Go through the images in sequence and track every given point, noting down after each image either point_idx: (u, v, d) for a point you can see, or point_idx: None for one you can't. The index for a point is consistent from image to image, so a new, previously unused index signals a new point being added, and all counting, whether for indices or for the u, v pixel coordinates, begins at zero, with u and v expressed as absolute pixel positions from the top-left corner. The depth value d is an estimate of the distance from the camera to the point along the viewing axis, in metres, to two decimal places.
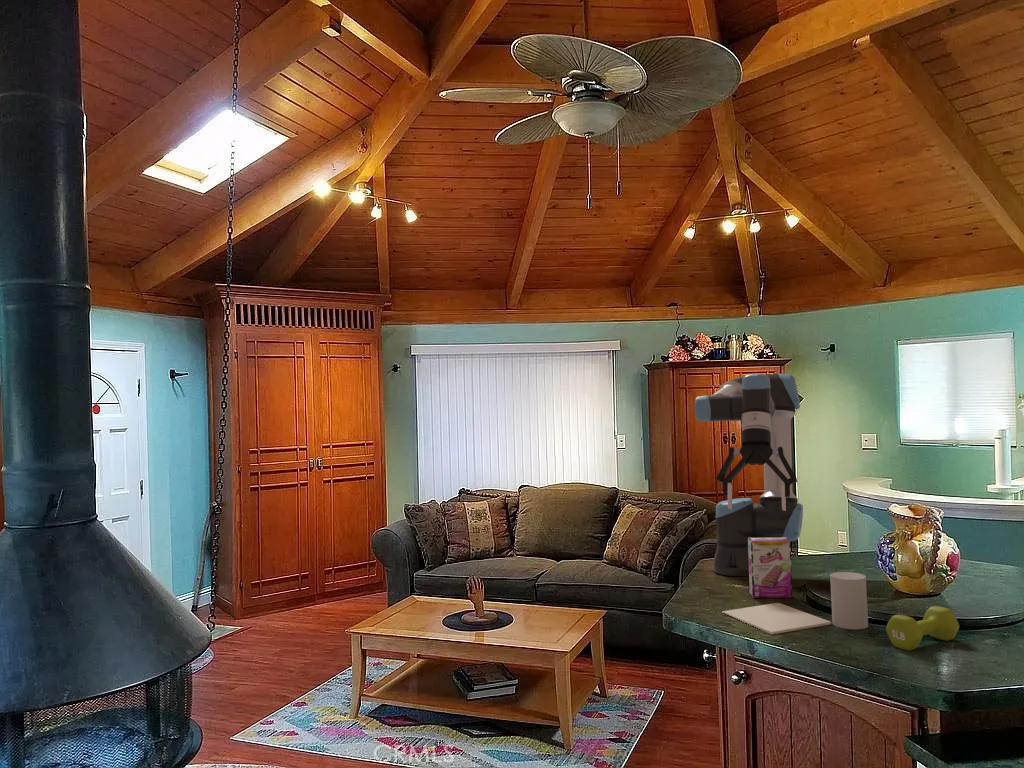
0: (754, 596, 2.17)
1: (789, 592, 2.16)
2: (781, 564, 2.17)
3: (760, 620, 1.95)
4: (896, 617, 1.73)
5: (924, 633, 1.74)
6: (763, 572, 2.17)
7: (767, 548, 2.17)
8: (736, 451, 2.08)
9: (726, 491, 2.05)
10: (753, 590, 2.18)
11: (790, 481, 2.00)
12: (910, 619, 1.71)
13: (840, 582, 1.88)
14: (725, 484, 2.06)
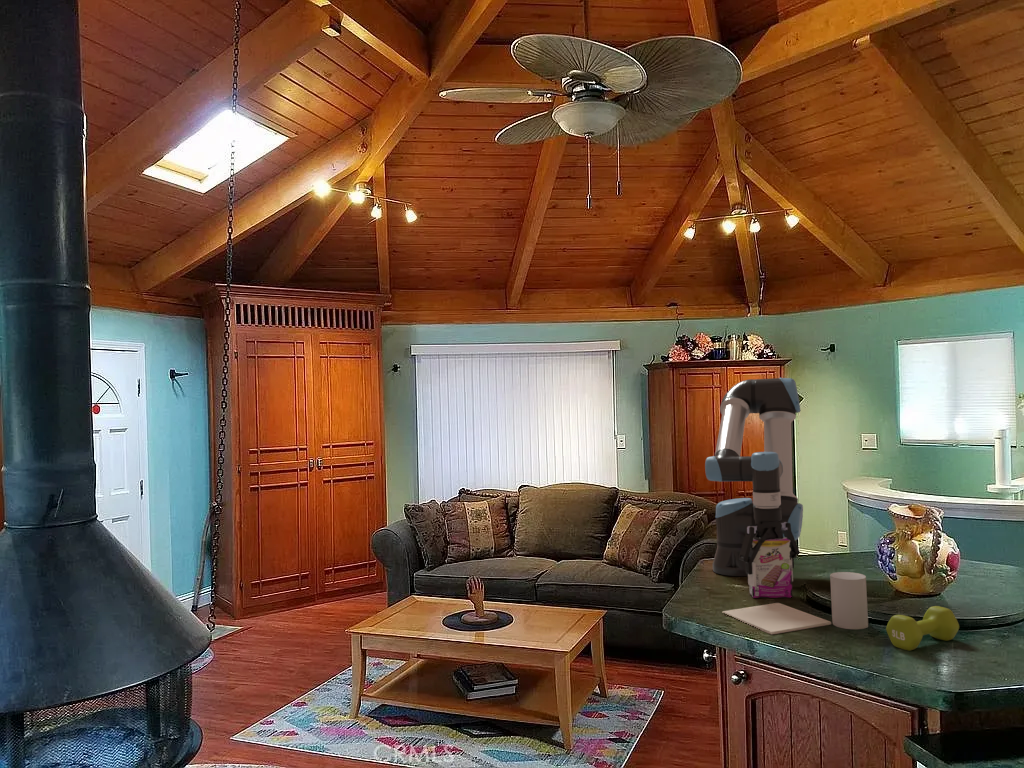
0: (754, 596, 2.17)
1: (789, 592, 2.16)
2: (781, 564, 2.17)
3: (760, 620, 1.95)
4: (896, 617, 1.73)
5: (924, 633, 1.74)
6: (763, 572, 2.17)
7: (767, 548, 2.17)
8: (754, 529, 2.17)
9: (751, 570, 2.16)
10: (753, 590, 2.18)
11: None
12: (910, 619, 1.71)
13: (841, 582, 1.88)
14: (749, 564, 2.16)
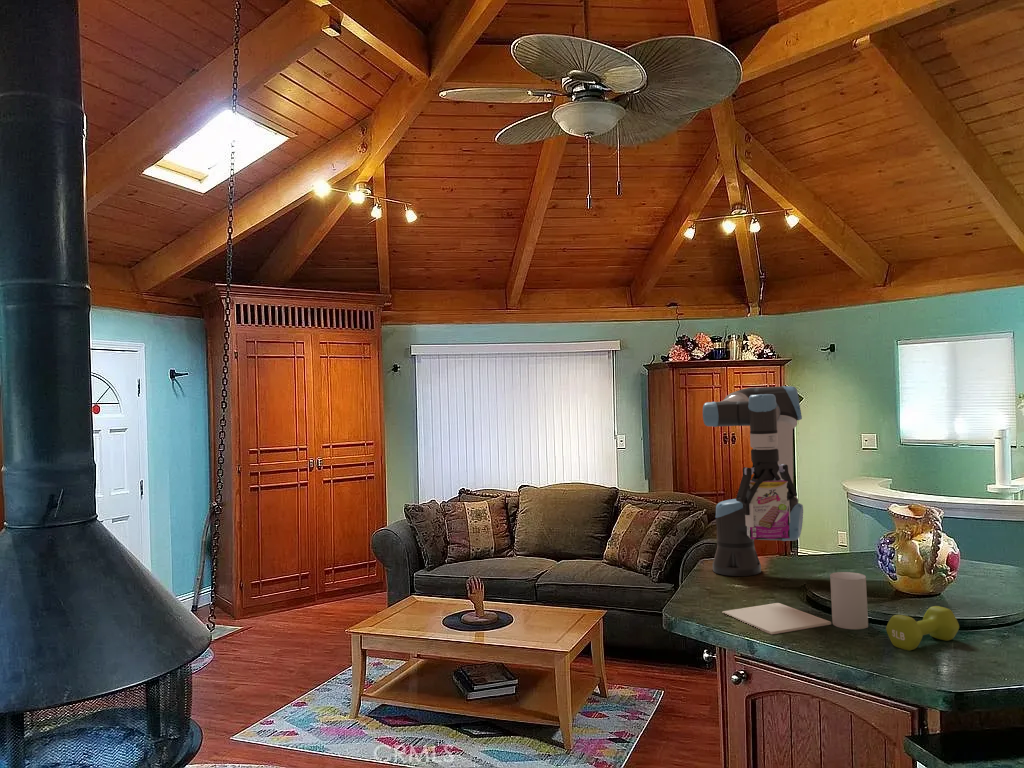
0: (751, 537, 2.18)
1: (787, 533, 2.17)
2: (778, 505, 2.17)
3: (760, 620, 1.95)
4: (896, 617, 1.73)
5: (924, 633, 1.74)
6: (760, 513, 2.17)
7: (764, 489, 2.17)
8: None
9: (748, 511, 2.17)
10: (750, 531, 2.18)
11: None
12: (910, 619, 1.71)
13: (841, 582, 1.88)
14: (747, 505, 2.17)
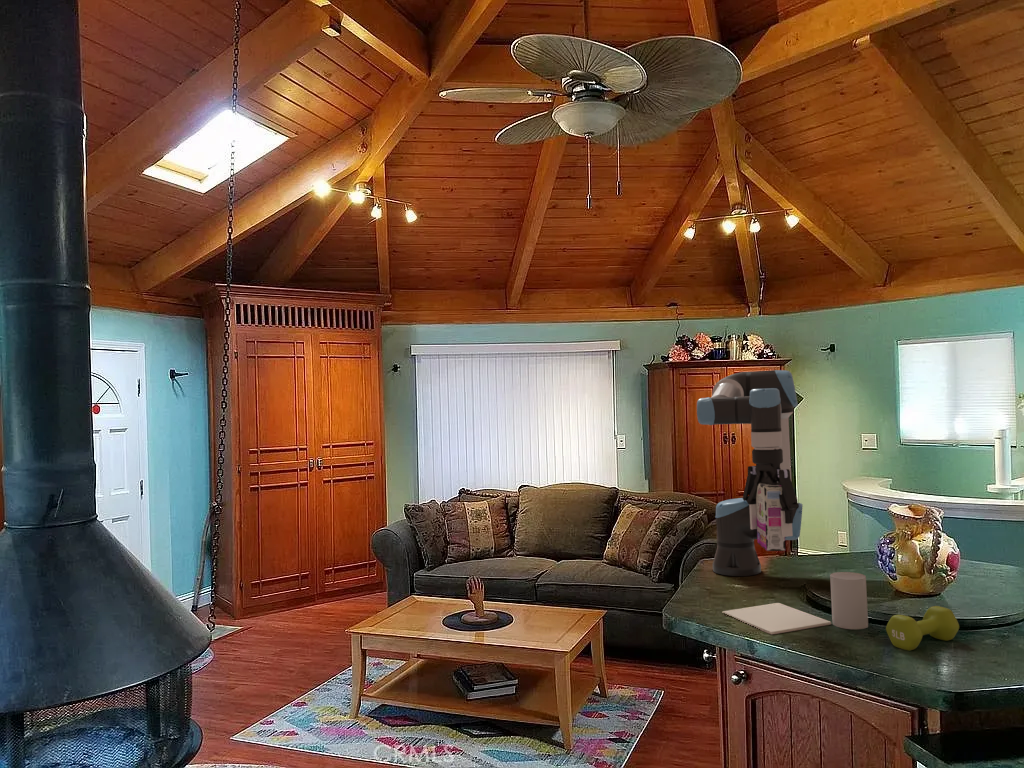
0: None
1: None
2: None
3: (760, 620, 1.95)
4: (896, 617, 1.73)
5: (924, 633, 1.74)
6: None
7: None
8: None
9: None
10: (784, 542, 1.93)
11: None
12: (910, 619, 1.71)
13: (841, 582, 1.88)
14: None
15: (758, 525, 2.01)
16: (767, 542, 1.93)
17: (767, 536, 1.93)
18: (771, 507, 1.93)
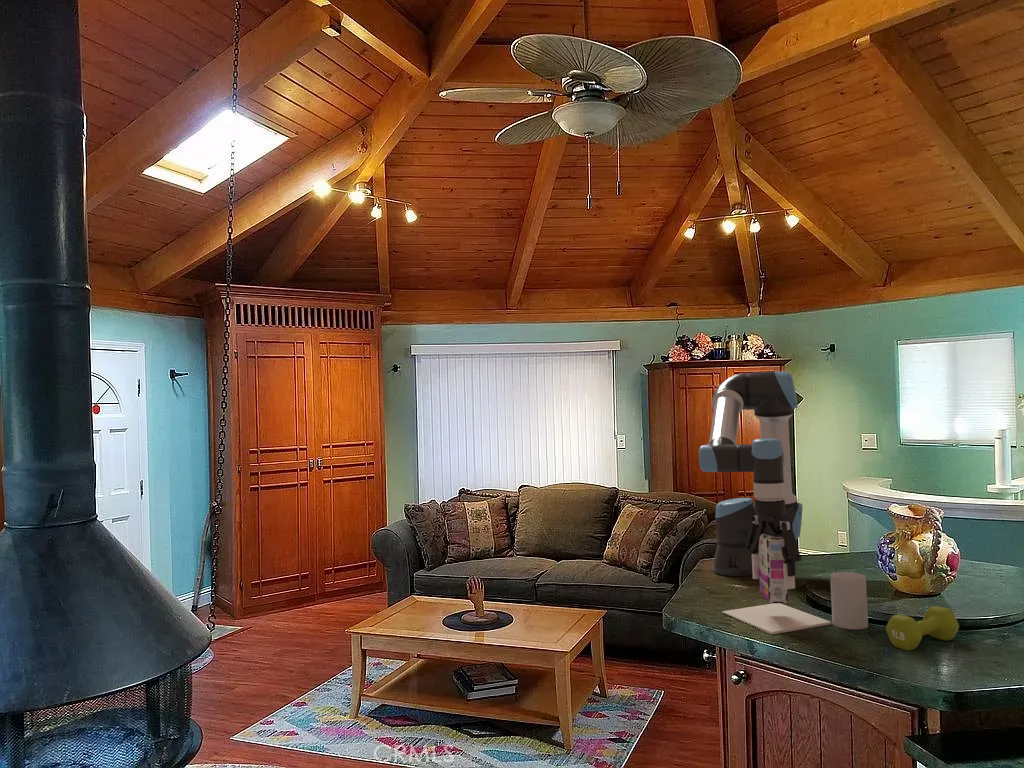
0: (787, 600, 1.93)
1: None
2: None
3: (760, 620, 1.95)
4: (896, 617, 1.73)
5: (924, 633, 1.74)
6: None
7: None
8: None
9: None
10: None
11: None
12: (910, 619, 1.71)
13: (841, 582, 1.88)
14: None
15: (760, 575, 2.01)
16: (769, 594, 1.93)
17: (769, 588, 1.93)
18: (773, 559, 1.93)
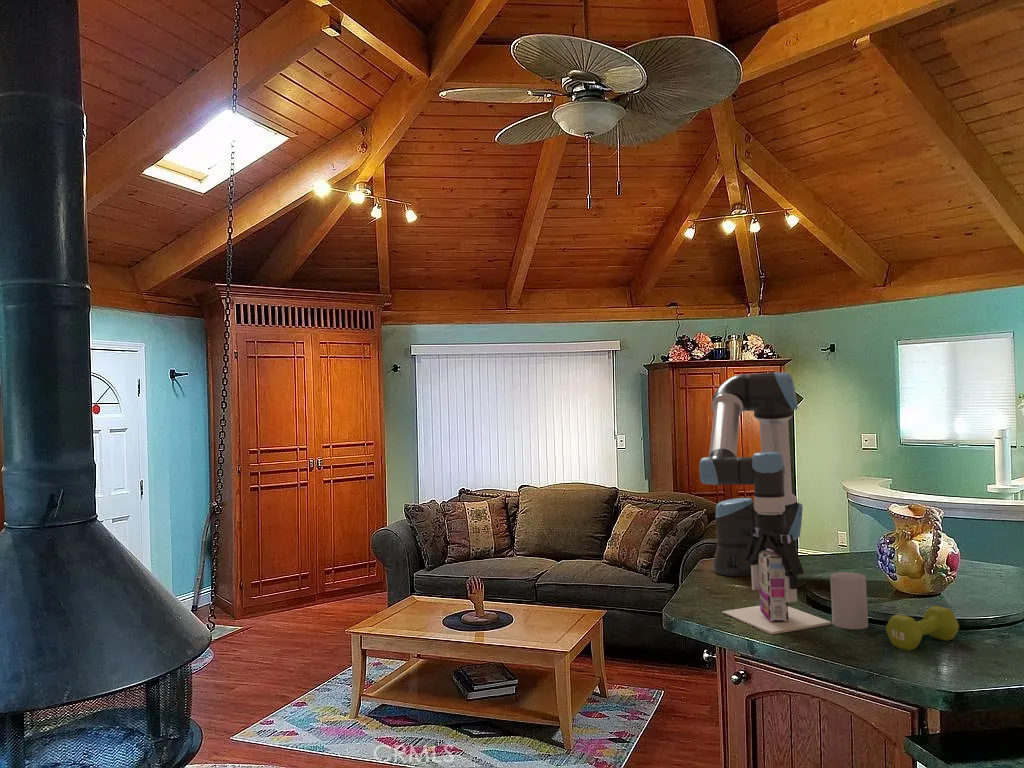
0: None
1: None
2: None
3: (760, 620, 1.95)
4: (896, 617, 1.73)
5: (924, 633, 1.74)
6: None
7: None
8: None
9: None
10: (787, 612, 1.93)
11: None
12: (910, 619, 1.71)
13: (841, 582, 1.88)
14: None
15: (761, 593, 2.01)
16: (770, 613, 1.93)
17: (770, 607, 1.93)
18: (774, 578, 1.93)
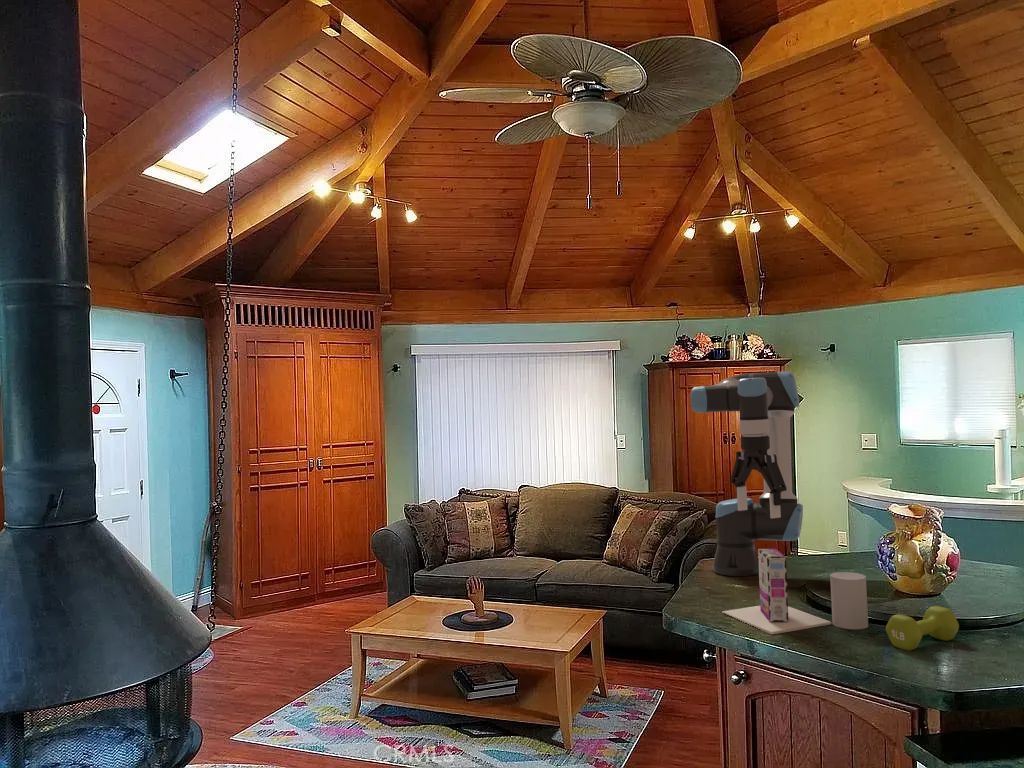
0: None
1: None
2: None
3: (760, 620, 1.95)
4: (896, 617, 1.73)
5: (924, 633, 1.74)
6: None
7: None
8: None
9: None
10: (787, 613, 1.93)
11: None
12: (910, 619, 1.71)
13: (841, 582, 1.88)
14: None
15: (761, 593, 2.01)
16: (770, 613, 1.93)
17: (770, 607, 1.93)
18: (774, 578, 1.93)
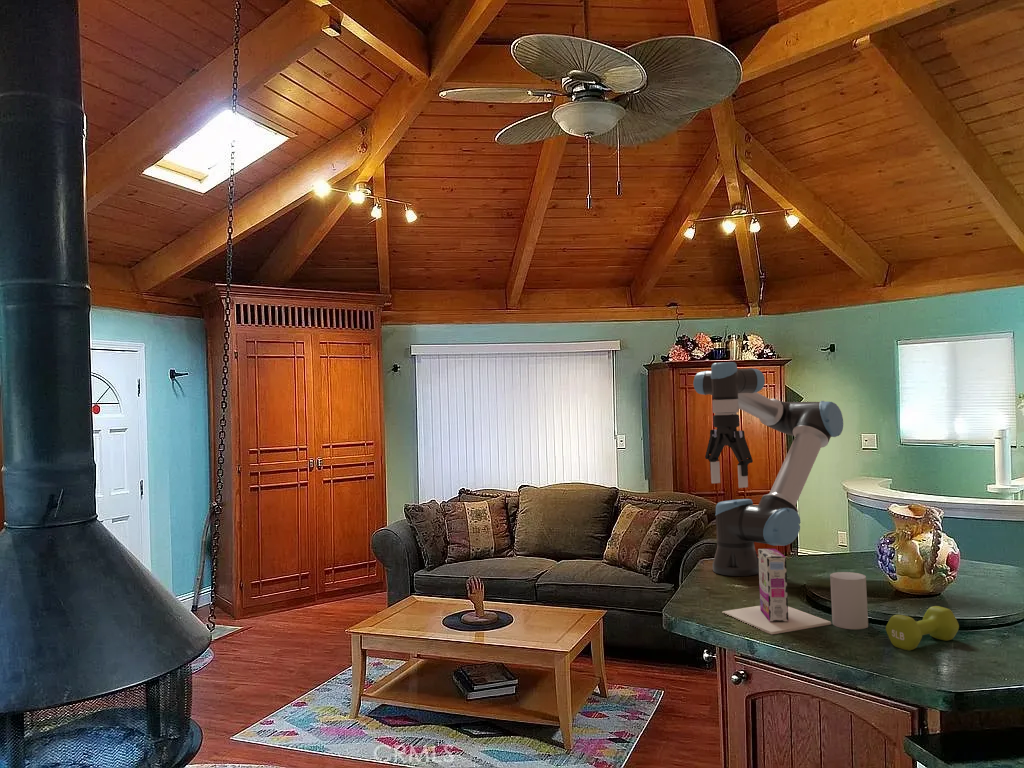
0: None
1: None
2: None
3: (760, 620, 1.95)
4: (896, 617, 1.73)
5: (924, 633, 1.74)
6: None
7: None
8: None
9: None
10: (787, 612, 1.93)
11: None
12: (910, 619, 1.71)
13: (841, 582, 1.88)
14: None
15: (761, 593, 2.01)
16: (770, 613, 1.93)
17: (770, 607, 1.93)
18: (774, 578, 1.93)
